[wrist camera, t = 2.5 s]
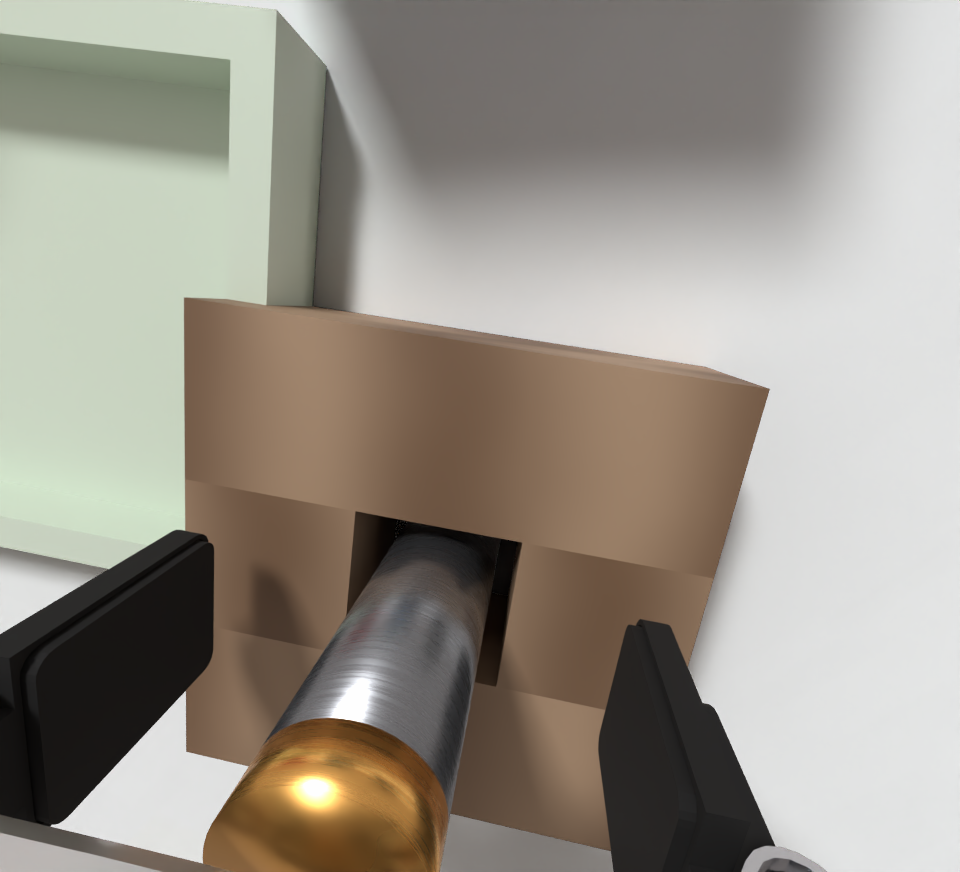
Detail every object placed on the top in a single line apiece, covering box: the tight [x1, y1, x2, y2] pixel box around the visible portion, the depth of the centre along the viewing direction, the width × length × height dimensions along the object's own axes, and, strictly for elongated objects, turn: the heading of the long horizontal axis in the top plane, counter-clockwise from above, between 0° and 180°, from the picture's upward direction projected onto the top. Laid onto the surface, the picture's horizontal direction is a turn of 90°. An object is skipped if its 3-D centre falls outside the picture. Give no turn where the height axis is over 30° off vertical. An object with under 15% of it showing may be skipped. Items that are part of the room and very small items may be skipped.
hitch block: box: [184, 297, 770, 851], centre depth 14 cm, size 12×12×4 cm
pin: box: [203, 521, 501, 872], centre depth 11 cm, size 3×3×10 cm
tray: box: [0, 0, 326, 569], centre depth 14 cm, size 16×14×2 cm
